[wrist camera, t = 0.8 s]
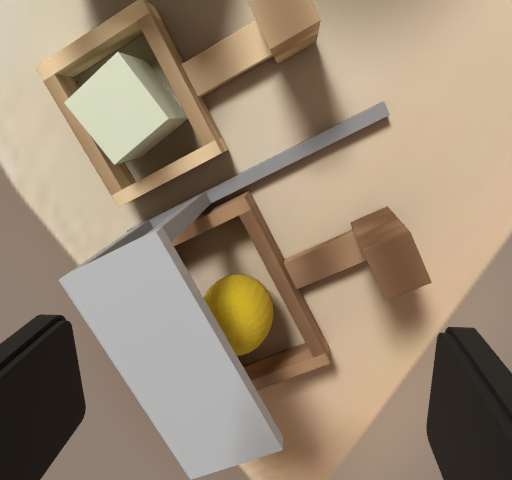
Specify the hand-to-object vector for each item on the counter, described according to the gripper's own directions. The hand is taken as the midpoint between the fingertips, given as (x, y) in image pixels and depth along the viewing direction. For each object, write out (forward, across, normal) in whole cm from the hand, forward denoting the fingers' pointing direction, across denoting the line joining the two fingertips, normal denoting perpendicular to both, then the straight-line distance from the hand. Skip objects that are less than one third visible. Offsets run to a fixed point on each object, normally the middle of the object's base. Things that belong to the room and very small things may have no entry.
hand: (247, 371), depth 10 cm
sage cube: (+23, +11, -7) cm, 26 cm away
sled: (+23, +7, -9) cm, 25 cm away
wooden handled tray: (+23, -1, +6) cm, 23 cm away
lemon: (+23, +3, +8) cm, 25 cm away
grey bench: (+23, 0, +5) cm, 23 cm away
